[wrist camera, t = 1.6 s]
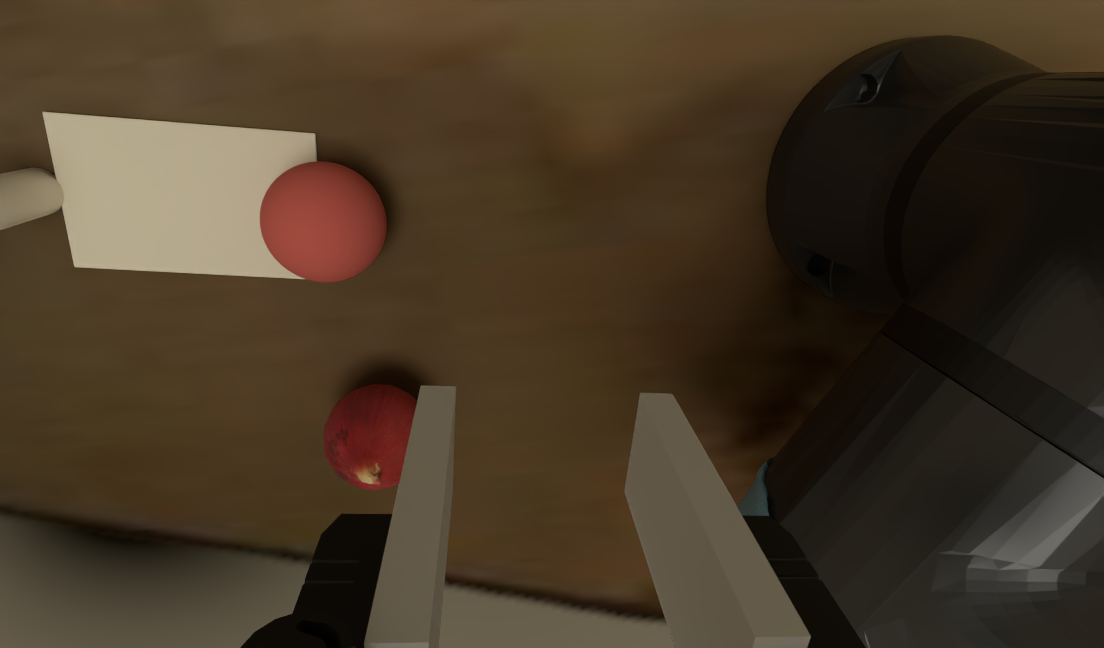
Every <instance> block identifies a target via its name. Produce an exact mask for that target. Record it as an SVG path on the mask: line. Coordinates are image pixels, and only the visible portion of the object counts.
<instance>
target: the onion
mask: <svg viewBox="0 0 1104 648" xmlns="http://www.w3.org/2000/svg"><path fill="white" fill-rule="evenodd" d="M416 405H417V400H416V399H415V398H414V397H412V396H411V395H410V394H409V393H408V392H405V391H403V390H401V389H399V388H396V387H394V386H392V385H379V384H371V385H367V386H364V387H361V388H358V389H355V390H353V391H351V392H350V393H349V394H348V395H346V396H345V397H344V398H342V399H341V400H340V401H339V402H338V403H337V404H336V406H335V407H334V408H333V410H332V412H331V414H330V416H329V418H328V420H327V422H326V424H325V429H324V451H325V455H326V458H327V459H328V461H329V463H330V465H331V466H332V468H333V470H334V472H335V473H336V475H337V476H338V477H340V478H341V479H343V480H345V481H347V482H349V483H351V484H353V485H355V486H356V487H359V488H363V489H367V490H381V489H387V488H390V487H392V486H395V485H397V484H399V482H400V478H401V473H402V468H403V464H404V459H405V455H406V450H407V446H408V441H409V437H410V432H411V428H412V423H413V418H414V414H415V409H416Z"/></svg>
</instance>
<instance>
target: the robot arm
mask: <svg viewBox="0 0 1104 648" xmlns="http://www.w3.org/2000/svg"><path fill="white" fill-rule="evenodd" d="M767 212H768V220H769V225H770V229H771V233H772V236H773V239H774V242H775V244H776V247H777V249H778V251H779V253H780V254H781V256H782V258H783V260H784V261H785V262H786V264H787V265H788V267H789V268H790V269H791V270H792V271H793V272H794V273H795V274H796V275H797V276H798V277H799V278H800V279H801V280H802V281H804V282H805V283H806V284H808V285H809V286H811V287H812V288H813V289H815V290H817V291H818V292H820V293H821V294H823V295H824V296H826V297H827V298H829V299H831V300H833V301H835V302H837V303H839V304H842V305H844V306H847V307H850V308H853V309H857V310H861V311H866V312H874V313H884V314H894V315H893V316H892V317H891V318H890V320H889V321H888V322H887V323H886V324H885V326H884V327H883V328H882V329H881V330H880V331H881V332H880V331H879V332H878V333H877V335H876V336H875V337H874V338H873V339H872V341H871V342H870V343H869V344H868V345H867V347H866V348H865V349H864V350H863V351H862V353H861V354H860V355H859V356H858V357H857V359H856V360H855V361H854V362H853V363H852V365H851V366H850V367H849V368H848V369H847V371H846V372H845V373H844V374H843V375H842V377H841V378H840V379H839V380H838V382H837V383H836V384H835V385H834V386H833V388H832V389H831V390H830V391H829V392H828V394H827V395H826V396H825V397H824V398H823V400H822V401H821V402H820V403H819V404H818V406H817V407H816V408H815V409H814V410H813V412H812V413H811V414H810V415H809V416H808V418H807V419H806V420H805V421H804V422H803V424H802V425H801V426H800V427H799V429H798V430H797V431H796V432H795V433H794V435H793V436H792V437H791V438H790V439H789V441H788V442H787V443H786V444H785V445H784V447H783V448H782V449H781V450H780V451H779V453H778V454H777V455H776V456H775V457H774V458H771V459H769V460H768V461H767V462H765V463H763V465H762V466H761V467H760V468H759V470H758V473H757V475H756V481H755V483H754V484H753V485H752V487H751V488H750V489H749V491H748V492H747V493H746V495H745V496H744V498H743V499H742V500H741V502H740V503H739V504H738V506H736V504H735V503H734V501H733V499H732V497H731V496H730V494H729V492H728V490H727V489H726V487H725V485H724V483H723V482H722V480H721V478H720V476H719V475H718V473H717V471H716V469H715V468H714V466H713V464H712V462H711V460H710V459H709V457H708V455H707V453H706V452H705V450H704V448H703V446H702V445H701V443H700V441H699V439H698V438H697V436H696V434H695V432H694V431H693V429H692V427H691V425H690V424H689V422H688V420H687V418H686V417H685V415H684V413H683V411H682V410H681V408H680V406H679V404H678V403H677V401H676V399H675V397H674V396H673V394H662V393H640V397H639V403H638V409H637V416H636V422H635V428H634V435H633V441H632V447H631V454H630V460H629V466H628V473H627V479H626V485H625V491H624V492H625V495H626V498H627V501H628V504H629V508H630V511H631V514H632V517H633V520H634V523H635V526H636V529H637V532H638V535H639V539H640V542H641V545H642V548H643V551H644V554H645V557H646V560H647V563H648V566H649V570H650V573H651V576H652V579H653V582H654V585H655V588H656V591H657V594H658V597H659V601H660V604H661V607H662V610H663V613H664V616H665V619H666V622H667V625H668V628H669V632H670V635H671V638H672V641H673V644H674V647H675V648H1104V72H1064V73H1047V72H1045V71H1043V70H1041V69H1039V68H1037V67H1035V66H1033V65H1031V64H1029V63H1027V62H1025V61H1023V60H1021V59H1019V58H1017V57H1015V56H1013V55H1011V54H1009V53H1007V52H1005V51H1003V50H1001V49H999V48H997V47H995V46H993V45H991V44H988V43H985V42H983V41H979V40H975V39H971V38H965V37H959V36H928V37H915V38H906V39H900V40H894V41H891V42H887V43H883V44H881V45H878V46H875V47H872V48H870V49H868V50H866V51H863V52H861V53H860V54H858V55H856V56H854V57H852V58H851V59H849V60H847V61H846V62H844V63H843V64H841V65H840V66H839V67H837V68H836V69H835V70H833V71H832V72H831V73H830V74H828V75H827V76H826V77H825V78H824V79H823V80H822V81H821V82H820V83H819V84H818V85H817V86H816V87H815V88H814V89H813V90H812V91H811V92H810V93H809V94H808V96H807V97H806V98H805V99H804V100H803V102H802V103H801V104H800V106H799V107H798V108H797V110H796V111H795V113H794V114H793V116H792V118H791V119H790V121H789V123H788V124H787V126H786V128H785V130H784V132H783V134H782V136H781V138H780V141H779V143H778V146H777V148H776V151H775V154H774V157H773V160H772V164H771V168H770V173H769V179H768V188H767ZM455 400H456V387H452V386H422V385H421V387H420V391H419V396H418V400H417V405H416V409H415V414H414V418H413V423H412V428H411V432H410V437H409V441H408V446H407V450H406V455H405V459H404V464H403V468H402V473H401V478H400V482H399V487H398V491H397V496H396V500H395V505H394V509H393V514H341V515H340V516H339V517H338V518H337V519H336V520H335V521H334V522H333V523H332V524H331V525H330V526H329V527H328V528H327V529H326V530H325V531H324V532H323V533H322V534H321V537H320V539H319V542H318V545H317V548H316V550H315V553H314V556H313V559H312V564H310V567H309V570H308V572H307V575H306V578H305V584H304V585H303V586H302V589H301V592H300V594H299V597H298V600H297V603H296V605H295V608H294V611H293V613H292V614H290V615H287V616H284V617H281V618H278V619H275V620H273V621H272V622H270V623H268V624H267V625H265V626H264V627H262V628H260V629H259V630H257V631H256V632H254V633H253V634H252V635H251V637H250V638H249V639H248V640H247V641H246V642H245V643H244V644H243V645H242V646H241V648H438V647H439V636H440V625H441V613H442V602H443V591H444V580H445V569H446V557H447V546H448V535H449V524H450V512H451V501H452V490H453V460H454V430H455Z"/></svg>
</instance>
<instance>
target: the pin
mask: <svg viewBox="0 0 1104 648" xmlns="http://www.w3.org/2000/svg"><path fill="white" fill-rule="evenodd" d="M63 201H64V194H63V190H62V188H61V186H60V184H59V183H58V181H57V180H56V176H55V175H54V174H52V173H51V172H49V171H47V170H45V169H42V168H36V167H32V168H26V169H21V170H16V171H11V172H6V173H2V174H0V230H3V229H6V228H9V227H12V226H15V225H18V224H21V223H24V222H28V221H31V220H34V219H37V218H40V217H43V216H46V215H49V214H52V213H55V212H58V211H59V210H61V209H62V204H63Z"/></svg>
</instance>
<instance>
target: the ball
mask: <svg viewBox="0 0 1104 648" xmlns="http://www.w3.org/2000/svg"><path fill="white" fill-rule="evenodd" d="M260 228H261V233H262V237H263V240H264V242H265V244H266V246H267V248H268V250H269V251H270V253H271V254H272V255H273V257H274V258H275V259H276V260H277V261H278V262H279V263H280V264H281V265H282V266H283V267H284V268H286V269H287V270H288V271H290V272H292V273H293V274H295V275H297V276H299V277H302V278H304V279H307V280H311V281H316V282H337V281H342V280H346V279H349V278H351V277H354V276H356V275H358V274H359V273H361V272H363V271H364V270H365V269H366V268H368V267H369V266H370V265H371V264H372V263H373V261H374V260H375V259H376V258H377V256H378V255H379V253H380V251H381V249H382V247H383V244H384V241H385V237H386V232H387V219H386V214H385V209H384V206H383V203H382V201H381V199H380V197H379V195H378V193H377V192H376V190H375V189H374V188H373V186H372V185H371V184H370V183H369V182H368V181H367V180H366V179H365V178H364V177H363V176H361V175H360V174H358V173H357V172H355V171H354V170H352V169H350V168H348V167H345V166H343V165H340V164H336V163H332V162H325V161H315V162H308V163H304V164H300V165H297V166H294V167H292V168H290V169H288V170H287V171H285V172H284V173H282V174H281V175H280V176H279V177H277V178H276V179H275V180H274V182H273V183H272V184H271V185H270V187H269V188H268V190H267V192H266V194H265V196H264V198H263V200H262V204H261V208H260Z"/></svg>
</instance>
